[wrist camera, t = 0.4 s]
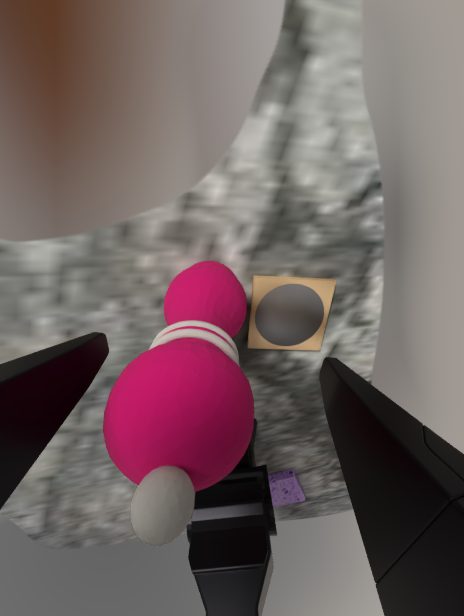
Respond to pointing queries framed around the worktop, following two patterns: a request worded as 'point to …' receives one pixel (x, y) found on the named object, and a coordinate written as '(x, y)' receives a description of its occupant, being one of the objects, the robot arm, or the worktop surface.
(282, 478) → the sponges
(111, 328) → the worktop surface
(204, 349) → the pepper mill
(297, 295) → the dock
